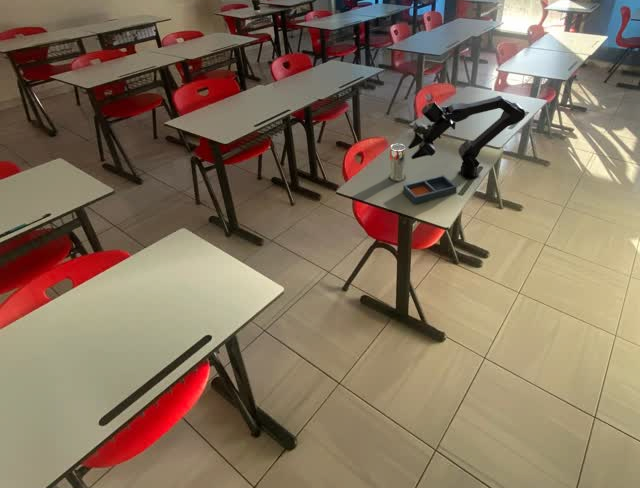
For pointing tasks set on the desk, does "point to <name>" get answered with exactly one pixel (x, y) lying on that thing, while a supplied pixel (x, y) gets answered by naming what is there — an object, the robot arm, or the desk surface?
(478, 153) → the robot arm
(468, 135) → the desk surface
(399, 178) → the beer glass
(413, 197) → the divided tray
